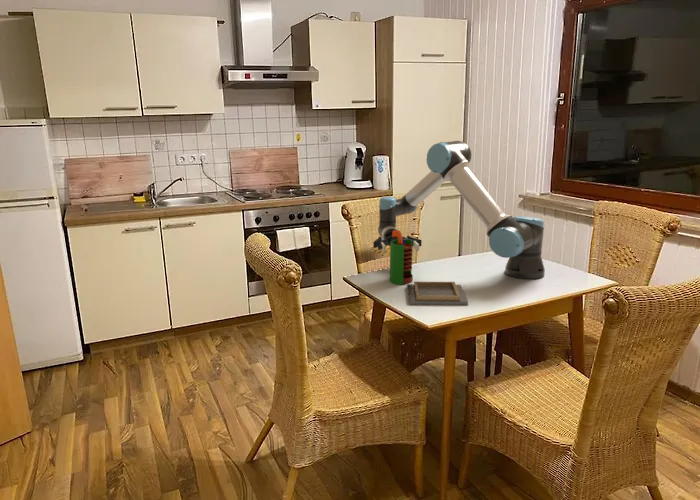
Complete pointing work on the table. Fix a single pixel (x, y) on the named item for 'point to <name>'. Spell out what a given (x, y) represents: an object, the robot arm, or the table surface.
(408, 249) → the green cylindrical holder
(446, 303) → the plate
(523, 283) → the table surface
